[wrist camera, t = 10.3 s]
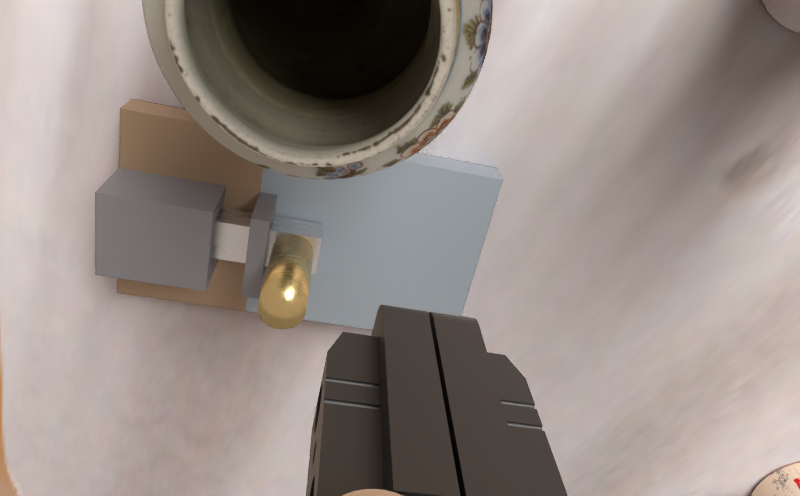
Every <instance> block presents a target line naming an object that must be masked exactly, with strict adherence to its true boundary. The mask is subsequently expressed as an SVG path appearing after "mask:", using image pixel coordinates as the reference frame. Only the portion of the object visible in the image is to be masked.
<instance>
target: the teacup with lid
mask: <svg viewBox="0 0 800 496" xmlns="http://www.w3.org/2000/svg"><path fill="white" fill-rule="evenodd" d="M751 496H800V462H799V463H794V464H791V465H788V466H785V467H783V468H781V469H779V470H777V471H775V472H773V473H772V474H770V475H769V476H767V477H766V478H765V479H764V480H762V481H761V482H760V483H759V484H758V486H757V487H756V488H755V489H754V491H753V493H752V494H751Z"/></svg>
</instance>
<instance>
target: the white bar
mask: <svg viewBox="0 0 800 496" xmlns="http://www.w3.org/2000/svg"><path fill="white" fill-rule="evenodd" d="M252 214H253V212H249V211H243V210H237V209H231V208H225V207H222V208H221V210H220V212H219V214H218V216H217V218H216V220H215V222H214V230H213V240H212V251H211V258H214V259H221V260H227V261H234V262H240V263H246V254H247V246H248V238H249V229H250V221H251V217H252ZM322 233H323V224H320V223H314V222H309V221H303V220H297V219H291V218H285V217H279V216H273V220H272V223H271V227H270V230H269V235H268V243H267V250H266V257H265V265H264V266H266V267H267V271H266V275H265V279H264V283H263V286H262V290H261V294H260V298H259V302H258V307H257V309H258V314H259V316H260V318H261V319H262V320H263V321H264V322H265V323H266V324H267V325H269V326H271V327H274V328H278V329H288V328H292V327H294V326H296V325H298V324H299V323H300V322H301V321H302V320H303V319H304V317H305V314H306V307H307V300H308V293H309V285H310V278H311V274H316V268H317V263H318V257H319V252H320V246H321V240H322Z"/></svg>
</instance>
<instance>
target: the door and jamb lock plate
mask: <svg viewBox="0 0 800 496" xmlns="http://www.w3.org/2000/svg"><path fill="white" fill-rule="evenodd" d="M502 181H503V179H502V177H501V175H500V173H499V172H498V170H497V168H494V167H489V166H484V165H478V164H473V163H468V162H462V161H457V160H452V159H446V158H441V157H436V156H431V155H425V154H420V153H415V154H414V155H412V156H410V157H409V158H407V159H405V160H403V161H401V162H399V163H397V164H395V165H393V166H391V167H388V168H386V169H383V170H380V171H377V172H374V173H371V174H367V175H363V176H358V177H353V178H346V179H336V180H319V179H307V178H300V177H294V176H289V175H285V174H281V173H278V172H275V171H272V170H269V169H266V168H263V167H261V166H258V165H256V164H254V163H252V162H250V161H248V160H246V159H244V158H242V157H240V156H238V155H237V154H235V153H234V152H232V151H230V150H229V149H227V148H226V147H225V146H223V145H222V144H221V143H219V142H218V141H217V140H215V139H214V138H213V137H212V136H211V135H209V134H208V133H207V132H206V131H205V130H204V129H203V128H202V127H201V126H200V125H199V124H198V123H197V122H196V121H195V120H194V119H193V117H192V116H191V115H190V114H189V113H188V112H187V110H186V109H182V108H177V107H171V106H166V105H161V104H155V103H150V102H145V101H139V100H134V99H131V100H130V101H129V102H127V103H126V104H125V105H124V106H122V107H121V108H120V148H119V168H118V169H117V171H116V172H115V173H114V174H113V175H112V176H111V177H110V178H109V179H108V180H107V181H106V182H105V183H104V184H103V185H102V186H101V187H100V188H99V189H98V190H97V191H96V192H95V275H101V276H108V277H114V278H117V293H123V294H130V295H137V296H144V297H151V298H157V299H164V300H171V301H178V302H185V303H192V304H199V305H206V306H213V307H219V308H226V309H233V310H240V311H247V312H254V313H258V309H257V307H258V302H259V298H260V294H261V290H262V286H263V283H264V279H265V275H266V271H267V267H266V266H264V265H265V257H266V250H267V243H268V235H269V230H270V227H271V223H272V220H273V216H279V217H285V218H291V219H297V220H303V221H309V222H314V223H320V224H323V233H322V240H321V246H320V252H319V257H318V263H317V268H316V274H311V278H310V285H309V293H308V300H307V307H306V314H305V317H304V319H303V320H309V321H316V322H323V323H330V324H337V325H343V326H350V327H357V328H364V329H371V330H373V327H374V323H375V319H376V315H377V311H378V309H379V306H380V305H388V306H395V307H401V308H408V309H414V310H421V311H427V312H428V313H429V312H435V313H442V314H449V315H455V316H461V314H462V311H463V308H464V305H465V301H466V298H467V295H468V292H469V288H470V285H471V282H472V279H473V275H474V272H475V269H476V266H477V262H478V259H479V256H480V253H481V249H482V246H483V243H484V240H485V236H486V233H487V230H488V227H489V223H490V220H491V217H492V214H493V210H494V207H495V204H496V201H497V197H498V194H499V191H500V188H501V184H502ZM222 207H225V208H231V209H237V210H243V211H249V212H253V214H252V217H251V221H250V229H249V238H248V246H247V254H246V263H240V262H234V261H227V260H221V259H214V258H211V251H212V240H213V230H214V222H215V220H216V218H217V216H218V214H219V212H220V210H221V208H222Z"/></svg>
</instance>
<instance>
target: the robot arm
mask: <svg viewBox="0 0 800 496" xmlns="http://www.w3.org/2000/svg"><path fill="white" fill-rule="evenodd" d="M762 2H763V4H764V6H765V7H766V9H767V11H768V13H769V14H770V15H771V16H772V17H773V18H774V19H775V20H776V21H777V22H778V23H779V24H780V25H782V26H784V27H786V28H788V29H790V30H792V31H794V32H798V33H800V0H762ZM534 405H535V404H534V401H533V398H532V395H531V393H530V390H529V387H528V384H527V381H526V379H525V377H524V376H523V375H522V374H521V373H520V372H519V371H518V369H517V368H516V367H515V366H514V365H513V364H512V363H511V361H510V360H509V359H508V358H507V357H506V356H505V355H501V354H494V353H487V351H486V348H485V344H484V341H483V338H482V334H481V331H480V327H479V324H478V321H477V320H476V319H475V318H468V317H462V316H455V315H449V314H442V313H435V312H429V313H428V312H427V311H421V310H414V309H408V308H401V307H395V306H388V305H380V306H379V309H378V311H377V315H376V319H375V323H374V327H373V331H372V336H367V335H360V334H353V333H346V332H343V333H342V334H341V335H340V337H339V338H338V339H337V340H336V342H335V343H334V344H333V345H332V347H331V348H330V349H329V350H328V352H327V357H326V362H325V367H324V372H323V377H322V382H321V387H320V392H319V397H318V402H317V407H316V412H315V417H314V422H313V427H312V436H311V447H310V460H309V469H308V479H307V480H308V482H307V490H306V496H567V493H566V490H565V487H564V484H563V482H562V479H561V476H560V473H559V471H558V468H557V465H556V462H555V459H554V457H553V454H552V451H551V448H550V445H549V443H548V440H547V437H546V434H545V432H544V431H542V423H541V420H540V418H539V415H538V412H537V409H534Z"/></svg>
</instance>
